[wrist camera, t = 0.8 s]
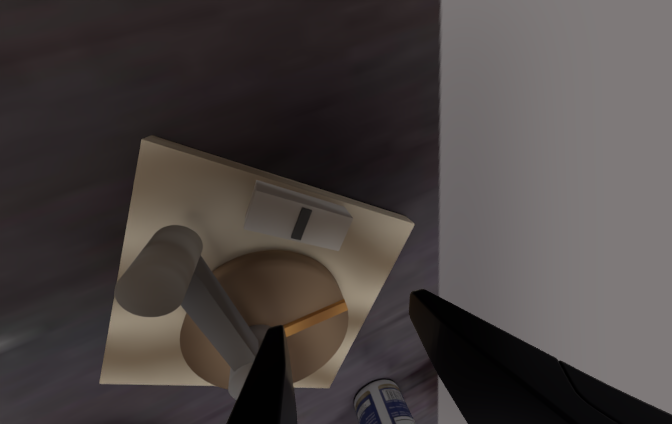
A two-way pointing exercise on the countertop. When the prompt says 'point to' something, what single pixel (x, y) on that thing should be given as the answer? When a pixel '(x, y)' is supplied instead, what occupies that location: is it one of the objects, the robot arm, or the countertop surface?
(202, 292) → the crank handle
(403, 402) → the pill bottle
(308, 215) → the stand
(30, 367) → the countertop surface
